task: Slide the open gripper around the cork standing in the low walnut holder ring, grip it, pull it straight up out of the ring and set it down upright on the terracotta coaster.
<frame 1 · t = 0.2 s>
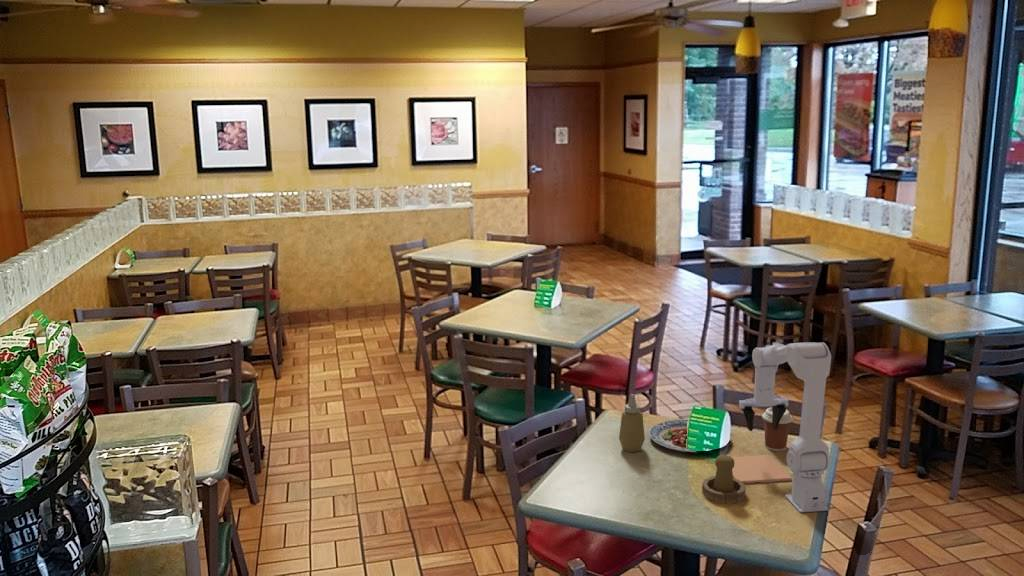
hand: (762, 429, 247), 10 cm above the table, tool pointing down, fingers open, 7 cm apart
ceramic plate: (689, 441, 265), on the table
coffee cup: (775, 447, 259), on the table
coaster: (754, 470, 243), on the table
squeeze bottle: (631, 449, 259), on the table
cork: (723, 494, 229), resting in holder ring
holder ring: (723, 493, 229), on the table
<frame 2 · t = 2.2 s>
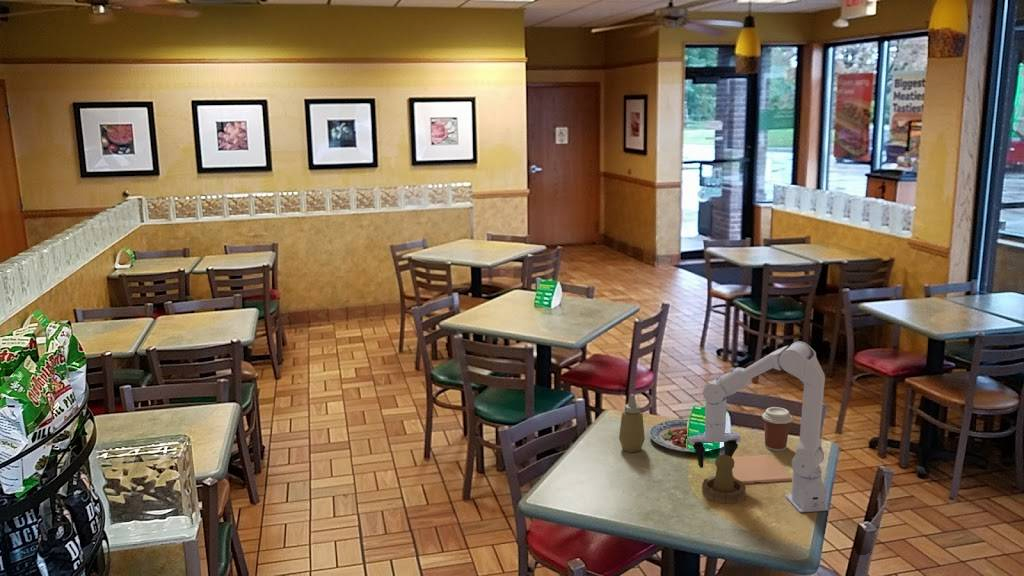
hand: (713, 465, 236), 4 cm above the table, tool pointing down, fingers open, 7 cm apart
nothing on the table moved.
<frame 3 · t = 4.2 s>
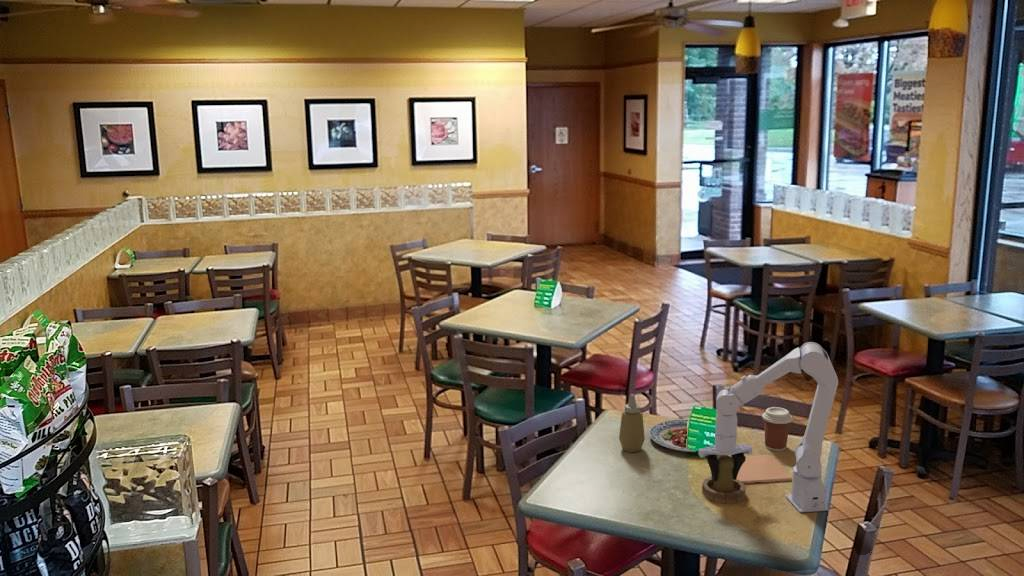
hand: (724, 478, 228), 4 cm above the table, tool pointing down, fingers closed on cork, 5 cm apart
cork: (723, 494, 229), resting in holder ring, touching gripper
everything else where it was.
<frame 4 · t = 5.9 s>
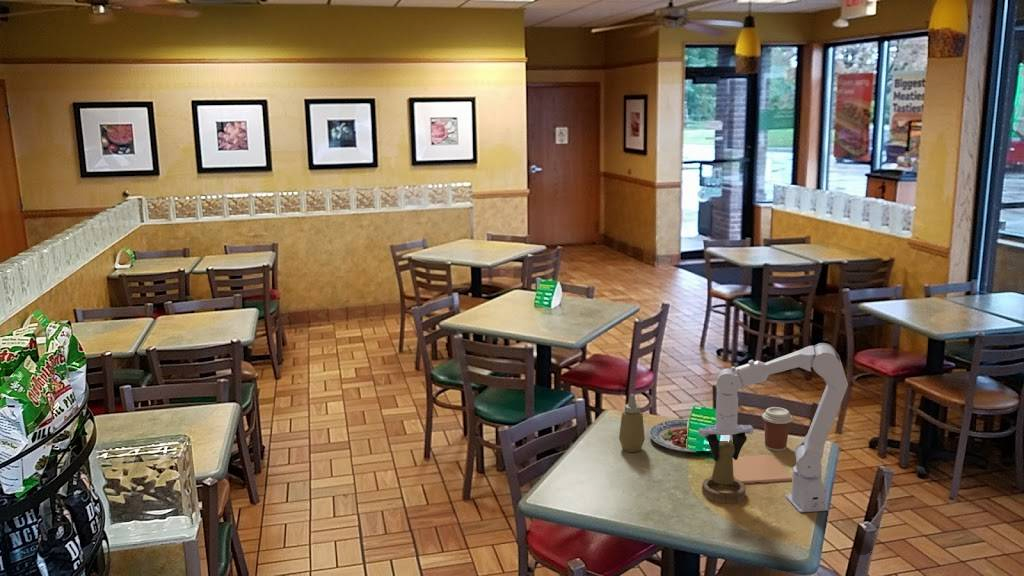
hand: (725, 459, 227), 10 cm above the table, tool pointing down, fingers closed on cork, 5 cm apart
cork: (722, 480, 228), point 4 cm above the table, touching gripper
everything else where it was.
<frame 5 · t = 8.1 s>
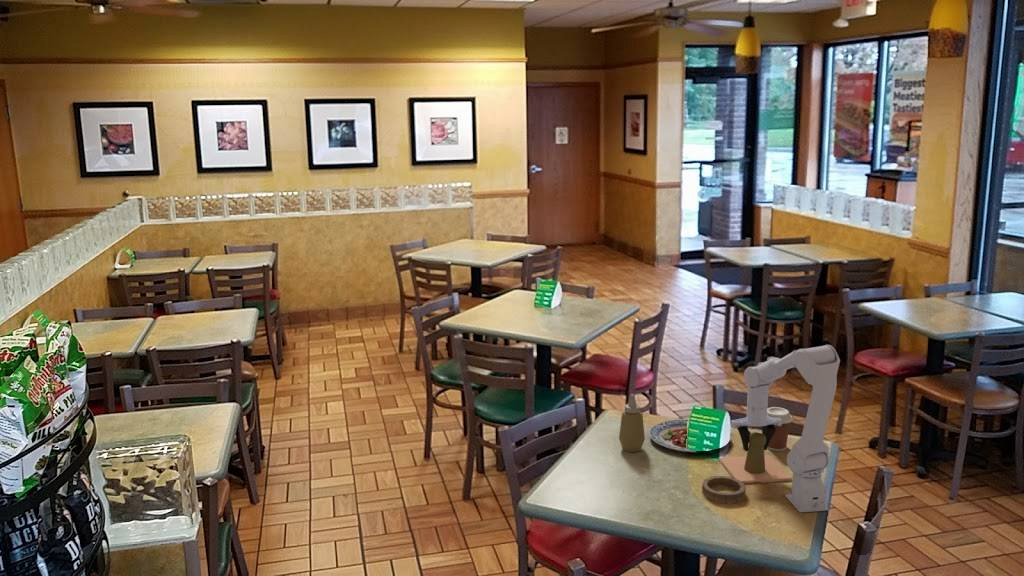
hand: (754, 449, 241), 7 cm above the table, tool pointing down, fingers closed on cork, 5 cm apart
cork: (754, 469, 242), point 1 cm above the table, touching coaster, gripper
everything else where it was.
when the fingers open (6 cm above the table, at t = 8.7 s): cork stays where it is, resting on coaster.
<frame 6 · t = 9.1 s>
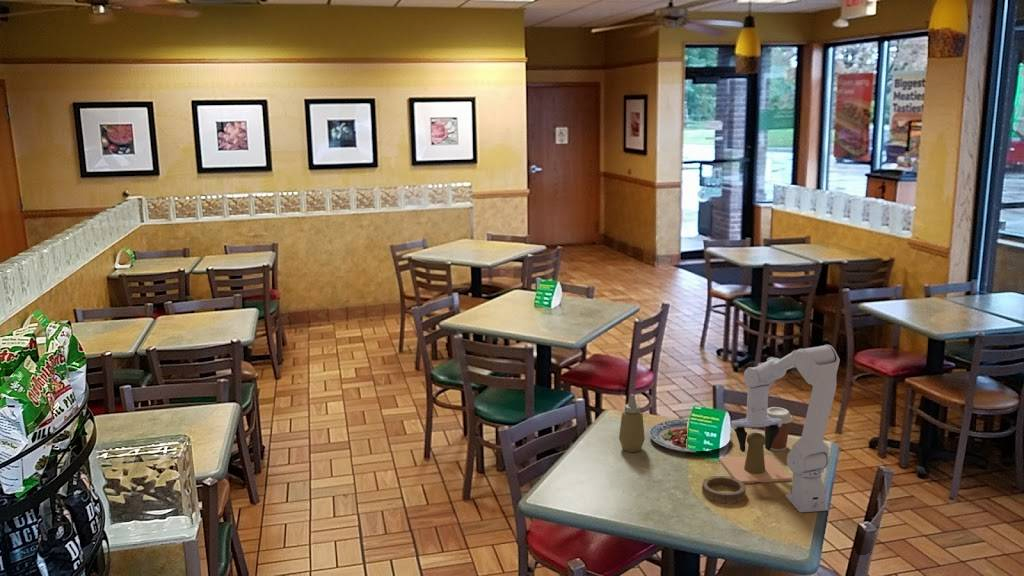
hand: (755, 449, 241), 6 cm above the table, tool pointing down, fingers open, 7 cm apart
cork: (754, 469, 242), point 1 cm above the table, touching coaster
everything else where it was.
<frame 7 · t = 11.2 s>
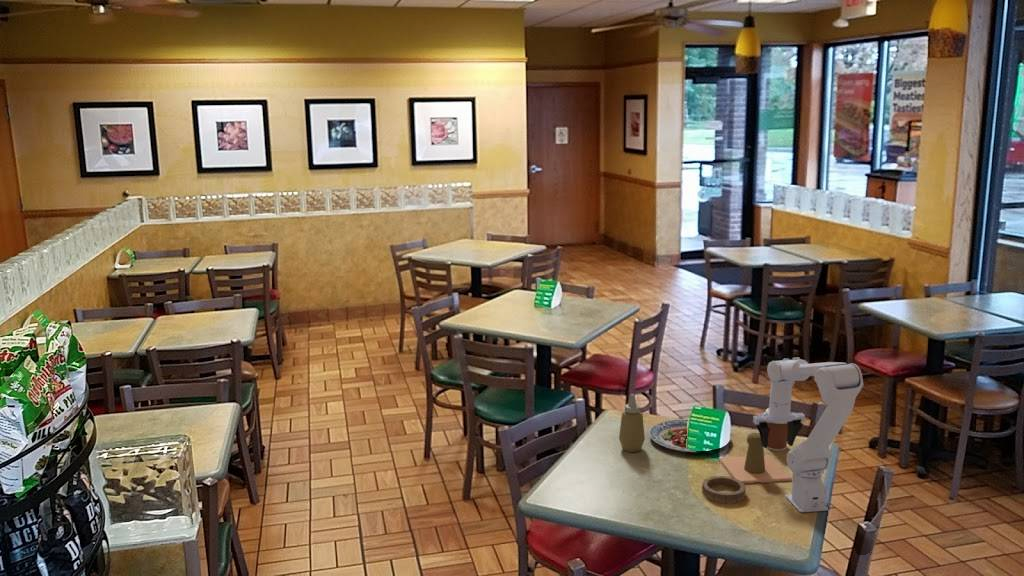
hand: (777, 445, 235), 10 cm above the table, tool pointing down, fingers open, 7 cm apart
nothing on the table moved.
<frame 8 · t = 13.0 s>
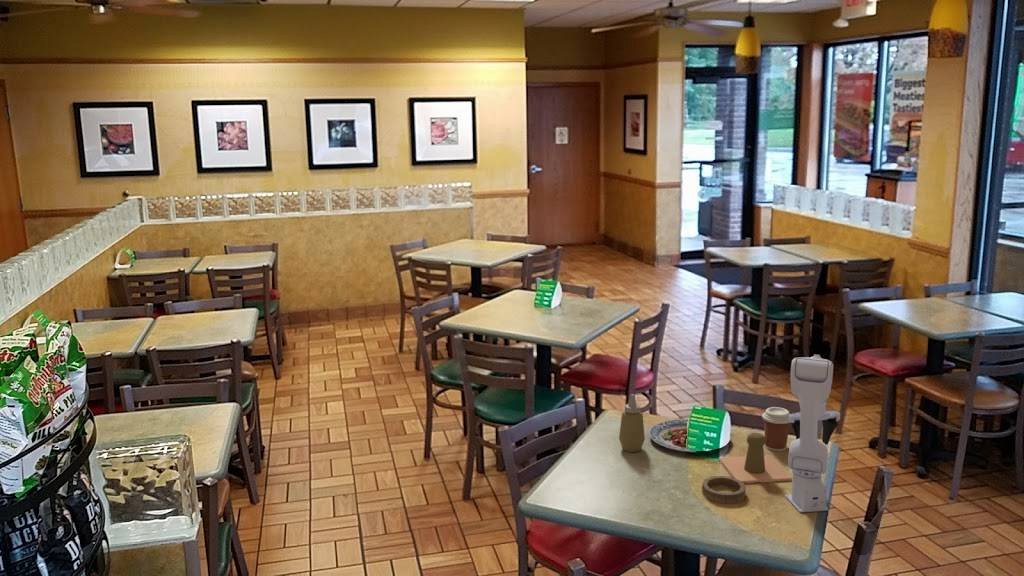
hand: (812, 444, 235), 10 cm above the table, tool pointing down, fingers open, 7 cm apart
nothing on the table moved.
at the end: cork inside the target area on the coaster (1.2 cm from its centre), point 0.6 cm above the coaster's base; cork tilted 0°; the gripper is holding nothing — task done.
